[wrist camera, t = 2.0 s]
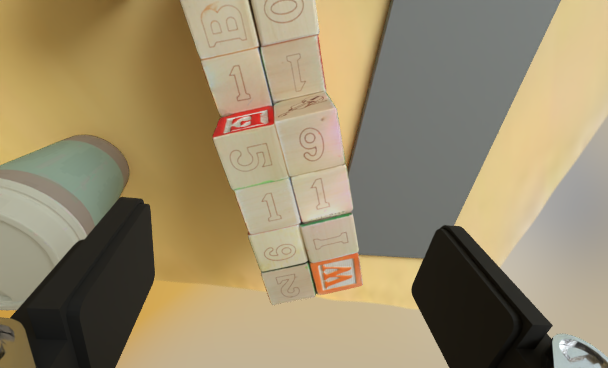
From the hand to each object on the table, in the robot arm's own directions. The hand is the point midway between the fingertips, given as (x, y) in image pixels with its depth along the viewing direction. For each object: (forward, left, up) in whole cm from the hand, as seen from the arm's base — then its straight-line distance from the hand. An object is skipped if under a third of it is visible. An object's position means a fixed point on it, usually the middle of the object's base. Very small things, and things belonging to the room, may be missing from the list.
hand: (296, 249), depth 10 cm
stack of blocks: (-1, 0, -19) cm, 19 cm away
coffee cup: (+8, -15, -19) cm, 25 cm away
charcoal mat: (+2, +14, -18) cm, 23 cm away
